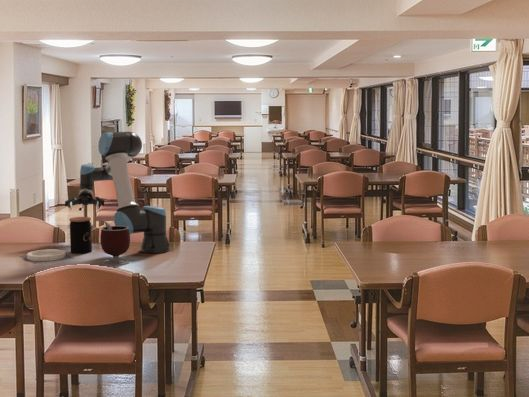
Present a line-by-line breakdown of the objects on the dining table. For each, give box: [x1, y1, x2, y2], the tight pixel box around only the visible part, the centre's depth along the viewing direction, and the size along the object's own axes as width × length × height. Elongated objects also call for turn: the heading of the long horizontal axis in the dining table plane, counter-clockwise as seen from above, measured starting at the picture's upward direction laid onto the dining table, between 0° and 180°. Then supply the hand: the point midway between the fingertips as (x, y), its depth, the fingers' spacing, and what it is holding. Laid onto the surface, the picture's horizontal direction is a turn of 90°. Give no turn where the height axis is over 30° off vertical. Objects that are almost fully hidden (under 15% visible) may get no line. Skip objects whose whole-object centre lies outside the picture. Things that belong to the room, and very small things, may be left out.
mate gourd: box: [100, 220, 131, 267], centre depth 351 cm, size 16×14×20 cm
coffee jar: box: [69, 216, 93, 255], centre depth 376 cm, size 11×11×18 cm
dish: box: [26, 248, 67, 262], centre depth 364 cm, size 18×18×2 cm
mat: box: [19, 254, 74, 265], centre depth 364 cm, size 22×20×1 cm
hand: (84, 207), depth 382 cm, fingers open, 13 cm apart
